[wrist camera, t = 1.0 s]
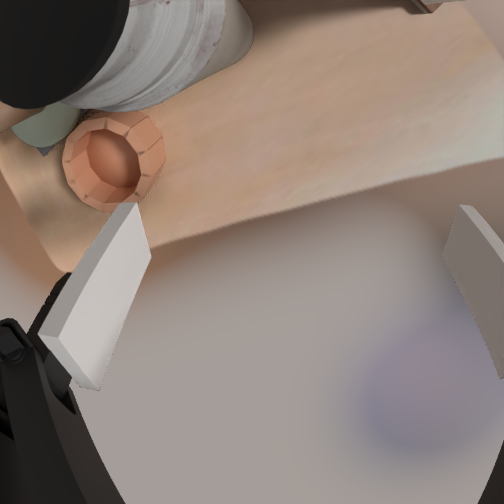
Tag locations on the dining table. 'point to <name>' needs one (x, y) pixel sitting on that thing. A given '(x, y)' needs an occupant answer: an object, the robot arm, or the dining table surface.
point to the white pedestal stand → (430, 4)
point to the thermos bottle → (115, 50)
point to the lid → (40, 123)
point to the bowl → (113, 159)
